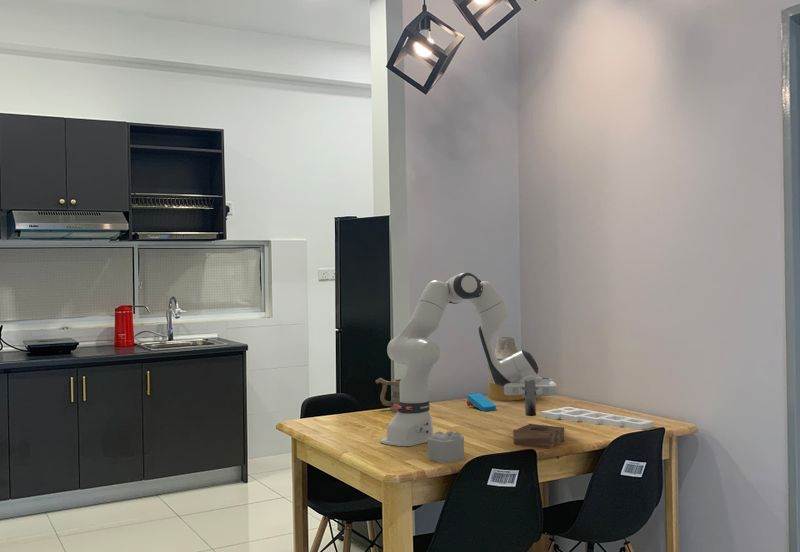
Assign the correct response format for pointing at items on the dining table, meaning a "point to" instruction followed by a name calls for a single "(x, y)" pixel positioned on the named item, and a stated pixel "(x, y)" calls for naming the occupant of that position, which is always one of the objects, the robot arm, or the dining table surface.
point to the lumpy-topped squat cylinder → (446, 447)
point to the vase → (502, 351)
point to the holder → (597, 418)
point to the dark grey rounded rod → (530, 398)
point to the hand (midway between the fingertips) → (530, 392)
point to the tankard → (394, 388)
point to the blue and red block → (480, 402)
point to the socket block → (539, 435)
